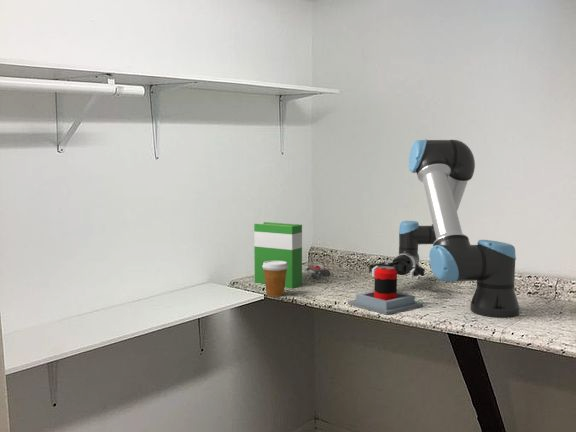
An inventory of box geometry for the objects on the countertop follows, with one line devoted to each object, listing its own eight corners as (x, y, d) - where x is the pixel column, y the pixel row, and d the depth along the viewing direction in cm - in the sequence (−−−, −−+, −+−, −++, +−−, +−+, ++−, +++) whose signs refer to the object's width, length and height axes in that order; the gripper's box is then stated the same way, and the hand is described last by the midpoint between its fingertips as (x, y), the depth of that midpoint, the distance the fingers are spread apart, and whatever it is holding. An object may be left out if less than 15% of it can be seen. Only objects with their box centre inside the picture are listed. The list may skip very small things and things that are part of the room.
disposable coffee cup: (277, 290, 231) (277, 259, 230) (293, 295, 223) (293, 263, 222) (257, 294, 225) (257, 262, 224) (272, 299, 218) (272, 265, 216)
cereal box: (254, 283, 244) (254, 223, 242) (265, 280, 250) (264, 222, 248) (292, 288, 235) (292, 226, 232) (301, 284, 241) (302, 224, 239)
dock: (422, 306, 207) (423, 296, 206) (386, 315, 196) (386, 304, 195) (383, 296, 221) (383, 287, 221) (347, 304, 210) (347, 294, 210)
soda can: (371, 303, 207) (371, 268, 206) (378, 298, 213) (378, 265, 212) (392, 305, 203) (393, 270, 202) (399, 301, 210) (400, 266, 209)
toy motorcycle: (301, 272, 268) (316, 281, 249) (301, 262, 268) (316, 270, 249) (320, 271, 271) (336, 280, 252) (320, 261, 270) (336, 269, 251)
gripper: (435, 275, 232) (426, 287, 212) (371, 271, 241) (357, 281, 221) (436, 256, 231) (427, 266, 211) (371, 252, 240) (357, 261, 221)
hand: (391, 274), depth 216 cm, fingers open, 13 cm apart
